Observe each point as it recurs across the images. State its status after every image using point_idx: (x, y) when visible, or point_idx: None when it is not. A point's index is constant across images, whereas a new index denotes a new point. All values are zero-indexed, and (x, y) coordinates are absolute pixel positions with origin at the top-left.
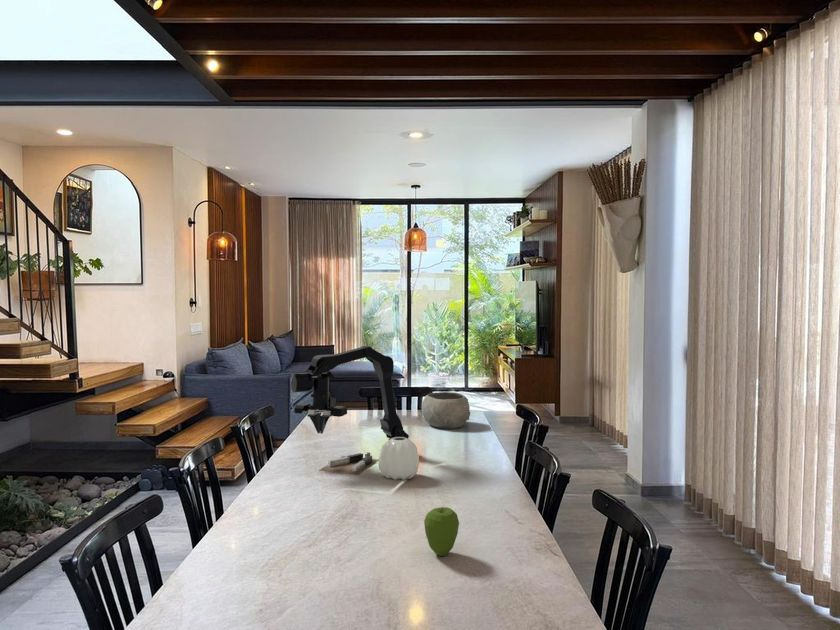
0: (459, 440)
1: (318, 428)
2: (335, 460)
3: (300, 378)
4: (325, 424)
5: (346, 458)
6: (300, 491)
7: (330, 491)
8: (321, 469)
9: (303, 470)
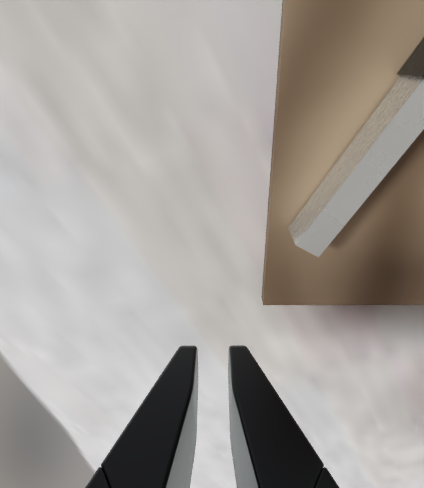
0: None
1: (191, 449)
2: (347, 220)
3: None
4: (321, 485)
5: (420, 128)
6: None
7: (400, 455)
8: (272, 287)
9: (163, 289)
